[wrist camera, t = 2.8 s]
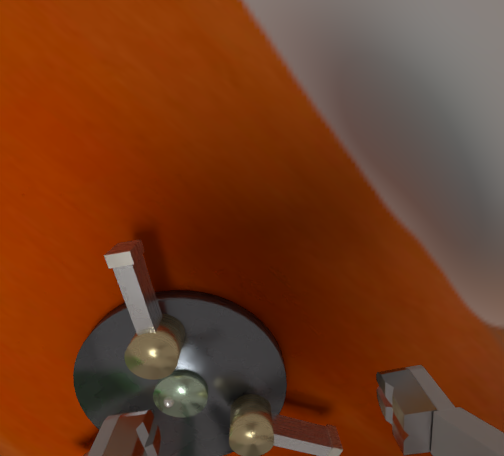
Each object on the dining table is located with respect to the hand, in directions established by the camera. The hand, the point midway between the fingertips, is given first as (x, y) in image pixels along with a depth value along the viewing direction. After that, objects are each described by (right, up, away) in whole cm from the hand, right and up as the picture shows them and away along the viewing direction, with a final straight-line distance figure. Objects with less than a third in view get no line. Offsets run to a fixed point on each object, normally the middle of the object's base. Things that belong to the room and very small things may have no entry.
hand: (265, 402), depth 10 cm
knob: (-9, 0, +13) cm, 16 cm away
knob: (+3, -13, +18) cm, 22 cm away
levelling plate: (-7, -9, +18) cm, 21 cm away
